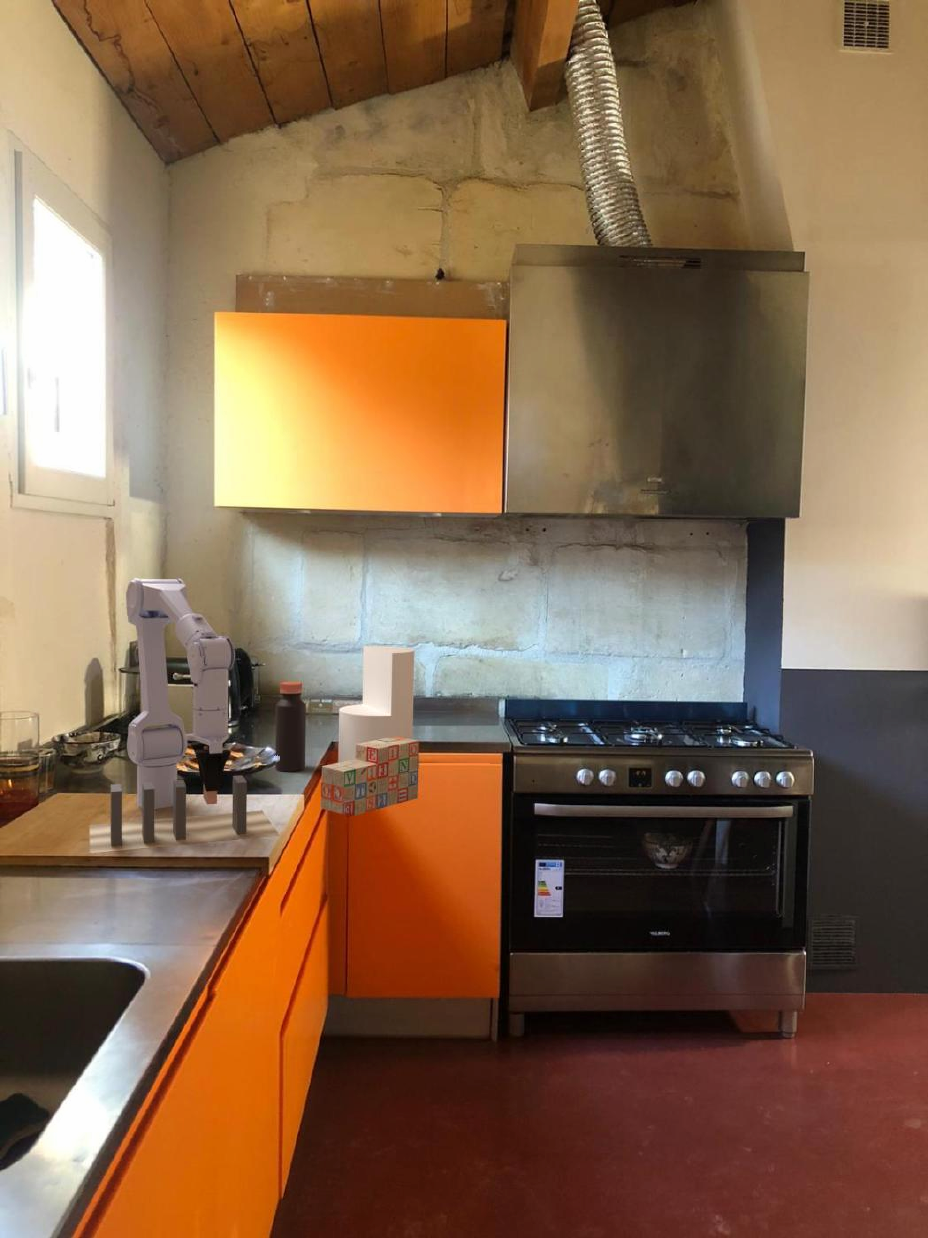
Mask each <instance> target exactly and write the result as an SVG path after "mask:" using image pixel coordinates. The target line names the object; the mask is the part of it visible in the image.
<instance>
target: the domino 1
mask: <svg viewBox="0 0 928 1238" xmlns="http://www.w3.org/2000/svg"><path fill="white" fill-rule="evenodd" d="M122 822H123V789H122V784H121V783H117V784H115V783H114V784H110V823H111V847H112V846H122Z"/></svg>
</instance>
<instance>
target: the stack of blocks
mask: <svg viewBox="0 0 928 1238" xmlns="http://www.w3.org/2000/svg"><path fill="white" fill-rule="evenodd" d="M419 751H420V741H419V740H417V739H413V738H412V739H407V738H402V737H393V738H383V739H378V740H375V741H370V742H365V743H360V744H356V757H355V760H350V761H346V762H340V763H338V762H336V763H332V764H327V765H323V766H321V782H320V809H323V810H325V811H329V812H333V813H338V814H341V815H345V817H347V818H351V817H353V816H359V815H362V814H365V813H370V812H372V811H373V812H374V811H376V810H380V809H384V808H387V807H391V806H394V805H399V804H402V803H405V802H409V801H412V800H415V799H418V797H419V769H420V754H419Z"/></svg>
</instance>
